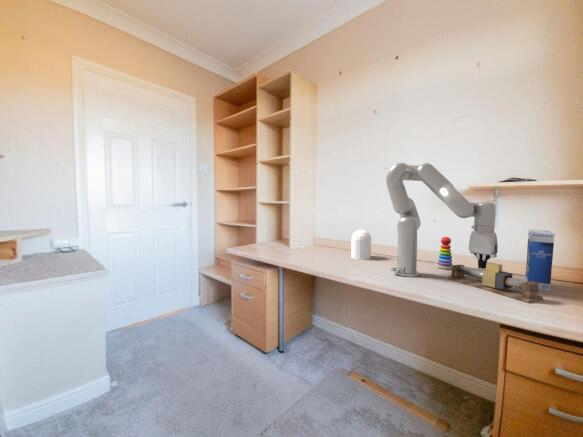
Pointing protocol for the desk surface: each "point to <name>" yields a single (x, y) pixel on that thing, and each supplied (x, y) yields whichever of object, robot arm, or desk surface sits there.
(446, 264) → the stacking toy
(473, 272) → the pipe
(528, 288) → the stand
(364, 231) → the container
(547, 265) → the string lights box
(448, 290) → the desk surface
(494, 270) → the sleeve
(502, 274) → the grey square collar
